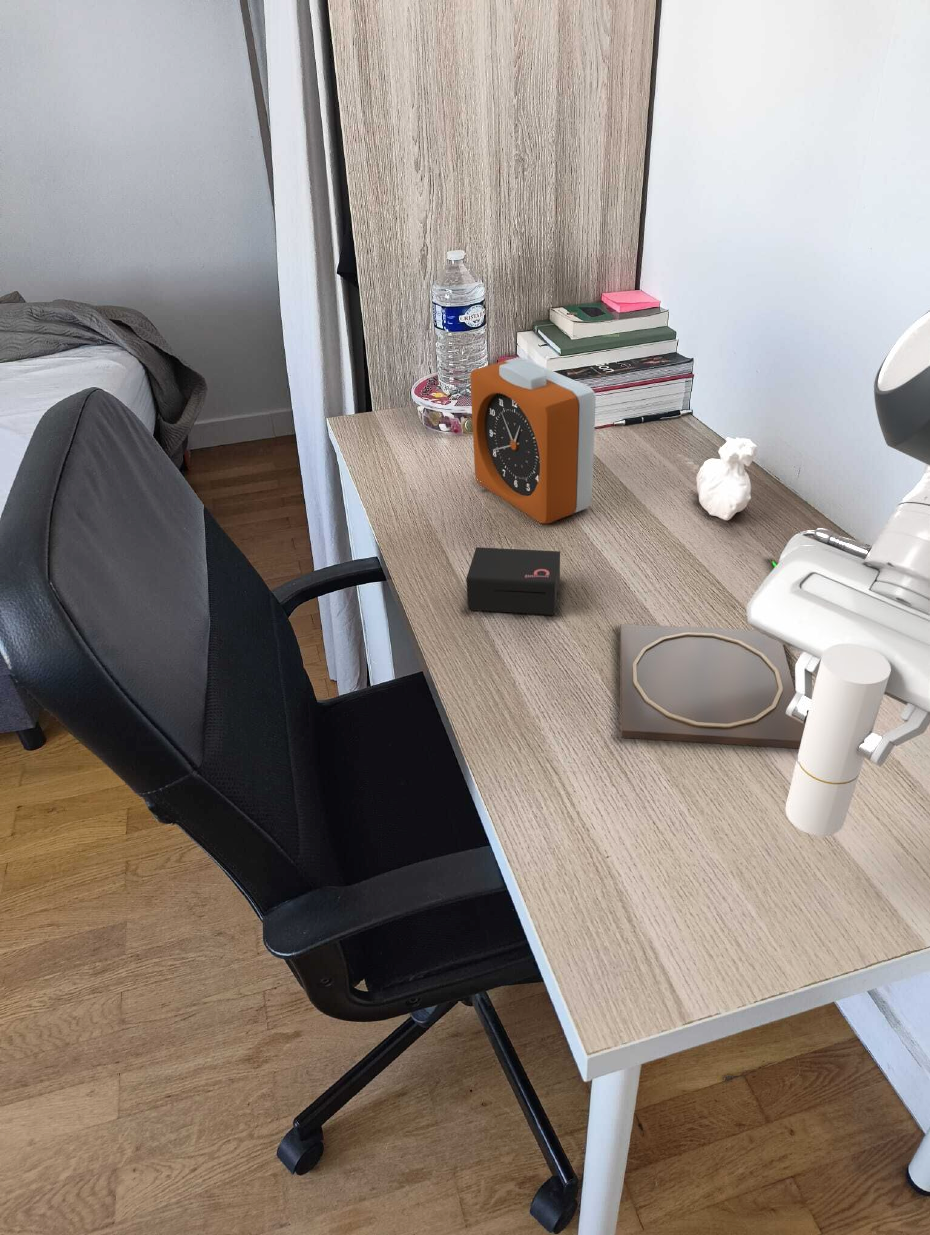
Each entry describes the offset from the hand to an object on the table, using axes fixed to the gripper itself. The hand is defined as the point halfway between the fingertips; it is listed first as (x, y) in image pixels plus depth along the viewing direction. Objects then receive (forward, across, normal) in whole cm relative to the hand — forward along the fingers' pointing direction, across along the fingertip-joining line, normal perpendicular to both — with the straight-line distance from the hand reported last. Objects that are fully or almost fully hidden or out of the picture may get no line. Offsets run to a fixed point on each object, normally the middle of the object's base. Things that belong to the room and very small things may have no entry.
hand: (831, 739), depth 60 cm
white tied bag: (-23, -43, +47) cm, 68 cm away
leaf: (-14, -25, +39) cm, 48 cm away
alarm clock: (-11, -65, +35) cm, 75 cm away
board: (+1, -21, +23) cm, 31 cm away
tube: (+6, 0, +6) cm, 9 cm away
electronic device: (+3, -47, +21) cm, 52 cm away
